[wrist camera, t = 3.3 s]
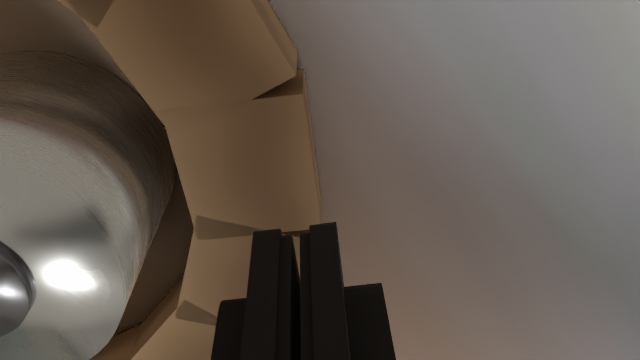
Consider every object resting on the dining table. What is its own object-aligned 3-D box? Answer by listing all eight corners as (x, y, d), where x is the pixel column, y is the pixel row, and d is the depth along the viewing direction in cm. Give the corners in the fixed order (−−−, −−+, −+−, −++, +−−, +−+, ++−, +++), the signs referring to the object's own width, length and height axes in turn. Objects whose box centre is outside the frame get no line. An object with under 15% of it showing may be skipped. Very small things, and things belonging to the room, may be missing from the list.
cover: (138, 36, 17) (51, 137, 11) (197, 235, 21) (153, 382, 15) (-99, 66, 17) (-293, 177, 12) (2, 255, 21) (-108, 404, 16)
